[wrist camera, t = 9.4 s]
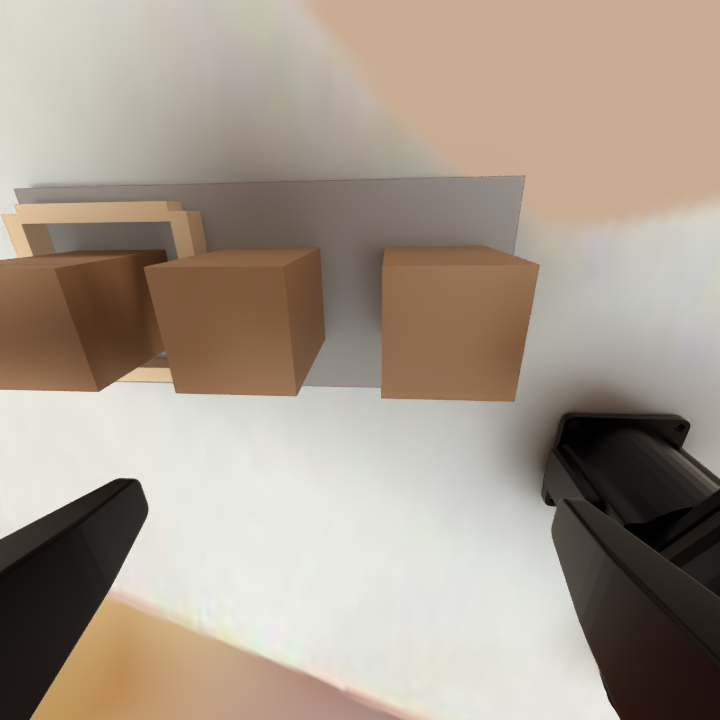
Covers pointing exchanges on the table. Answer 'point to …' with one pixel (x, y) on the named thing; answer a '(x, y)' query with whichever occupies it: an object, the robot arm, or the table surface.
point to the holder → (314, 280)
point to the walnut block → (76, 319)
